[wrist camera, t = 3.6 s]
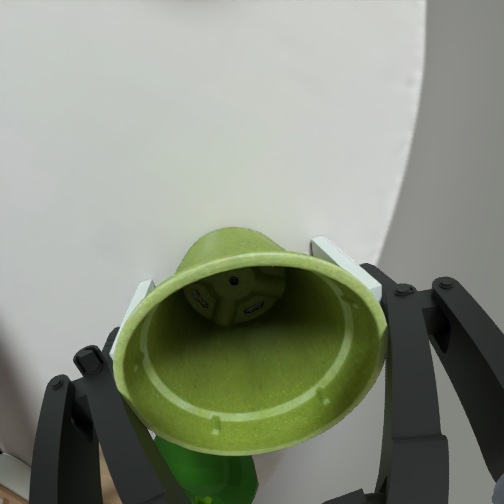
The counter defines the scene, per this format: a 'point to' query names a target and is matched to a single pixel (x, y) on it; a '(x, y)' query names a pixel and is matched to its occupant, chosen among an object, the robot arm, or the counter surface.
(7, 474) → the lidded jar
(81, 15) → the counter surface
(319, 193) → the counter surface
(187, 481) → the bell pepper
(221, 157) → the counter surface
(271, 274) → the plant pot
